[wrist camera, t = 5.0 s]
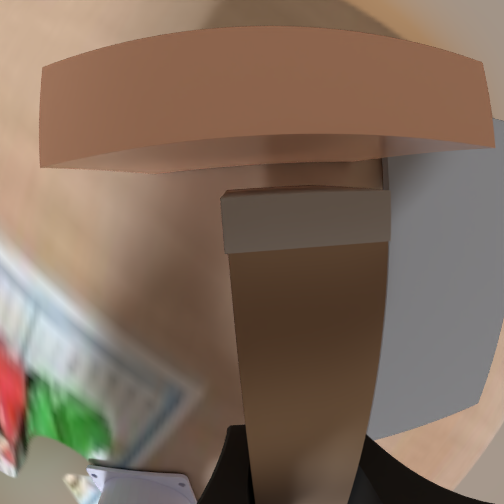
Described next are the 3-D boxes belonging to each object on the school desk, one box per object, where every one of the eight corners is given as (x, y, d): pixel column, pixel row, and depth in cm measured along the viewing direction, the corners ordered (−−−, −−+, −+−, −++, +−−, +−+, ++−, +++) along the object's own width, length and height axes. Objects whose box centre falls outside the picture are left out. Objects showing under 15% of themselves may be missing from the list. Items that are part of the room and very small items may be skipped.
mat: (474, 399, 18) (477, 403, 17) (362, 436, 17) (365, 442, 17) (506, 124, 13) (512, 123, 13) (376, 101, 13) (382, 98, 12)
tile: (353, 161, 14) (495, 147, 5) (154, 173, 13) (39, 167, 5) (349, 116, 13) (480, 56, 4) (151, 127, 13) (43, 60, 4)
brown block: (306, 491, 13) (325, 566, 8) (256, 497, 13) (264, 575, 8) (313, 185, 9) (390, 190, 5) (227, 190, 9) (220, 197, 4)
